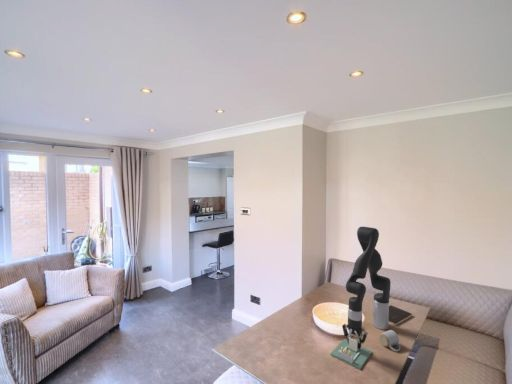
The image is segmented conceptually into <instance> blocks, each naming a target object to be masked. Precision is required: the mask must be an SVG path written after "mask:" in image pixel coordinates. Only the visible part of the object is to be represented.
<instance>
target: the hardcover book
mask: <svg viewBox="0 0 512 384" xmlns="http://www.w3.org/2000/svg"><path fill="white" fill-rule="evenodd" d="M412 315H413V313H412V312H409V311H406V310H403V309H402V308H399V307H397V306H394V305H392V304H391V305H390V304H389V322H388V324H390V325H393V326H397V325H399V324H400V323H402V322H403V321H406V320H408V319H409V318H411V317H412Z"/></svg>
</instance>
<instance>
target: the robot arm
mask: <svg viewBox="0 0 512 384" xmlns="http://www.w3.org/2000/svg"><path fill="white" fill-rule="evenodd" d="M379 236H380V232H379V229H377V228H376V227H369V226H359V227H358V228H357V230H356V237H357V240H358V242H359V245H360V247H361V250H362V253H361V254H359V256H358V257H357V258H356V260H355V262H354V266H353V269H352V272H351V275H350V276H349V278H348V279H347V281H346V284H345V289H346V292H348V293H350V294H352V295H356V296H350V297H349V299H348V309H347V324H346V323H344V324H342V331H343V335H344V337H347V340H348V345H349V337H350V336H351V335H355V336H356V338H357V340H358V349H360V348H361V346H362V344H364V343H365V341H366V339H367V337H368V332H367V331H366V332H365V331H364V329H363V302H364V298H365V295H366V292H367V287H366V285H365V284H364V283H362V282H360V281H358V280H359V279H362V280H363V279H366V277H367V276H366V275H367V272H369V277H370V283H371V287H372V288H373V289H375V290H378V291H381V292H378V293H375V294H373V309H372V310H373V311H372V325H373V326H374V328H376V329H379V330H382V331H383V330H389V323H388V322H389V306H390V296H391V279H390V278H389V277H387V276H382V275H379V274H378V272H379V271H380V270H381V268H382V267H383V260H382V255H381V254H380V252H379V251H378V250H377V249H376V247H377V244H378V241H379V238H380V237H379ZM361 334H362V335H361Z"/></svg>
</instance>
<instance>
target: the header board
mask: <svg viewBox="0 0 512 384" xmlns="http://www.w3.org/2000/svg"><path fill="white" fill-rule="evenodd" d="M372 353H373V351H372V350H371V349H369V348H367V347H365V346H362V345H361V348H360V349H359V350H358V351H357V352H355V351H353V350H351V349H349V345H348V339H346V338H344V339H342V341H341V342H339V343H338V345H337V346H336V347H335V348H334V349H333V350H332V351H331V352H330V356H332V357H334V358H336V359H338V360H339V361H342V362H344V363H345V364H347V365H349V366H352V367H353V368H356V369H358V370H361V369H362V368H363V366H364V365H365V363H366V362H367V360H368V359H369V358H370V356H371V354H372Z"/></svg>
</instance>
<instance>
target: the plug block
mask: <svg viewBox="0 0 512 384" xmlns="http://www.w3.org/2000/svg"><path fill="white" fill-rule="evenodd" d="M349 349H351V350H353V351H355V352H357V351H358V350H359V349H358V340H357V338H356V336H355V335H351V336H350V337H349Z"/></svg>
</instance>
